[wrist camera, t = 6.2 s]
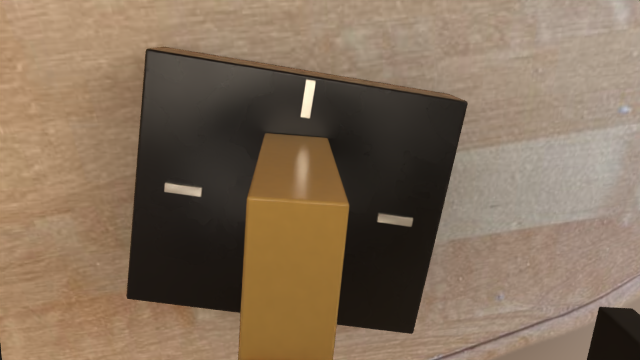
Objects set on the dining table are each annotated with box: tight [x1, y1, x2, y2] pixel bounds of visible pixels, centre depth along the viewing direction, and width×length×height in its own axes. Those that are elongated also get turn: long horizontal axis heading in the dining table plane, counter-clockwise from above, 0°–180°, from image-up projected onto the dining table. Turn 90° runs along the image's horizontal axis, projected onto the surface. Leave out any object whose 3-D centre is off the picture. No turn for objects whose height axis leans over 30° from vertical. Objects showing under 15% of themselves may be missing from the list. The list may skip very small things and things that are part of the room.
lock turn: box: [238, 133, 349, 360], centre depth 17 cm, size 6×2×8 cm, turn 175°
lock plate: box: [127, 47, 467, 334], centre depth 22 cm, size 12×10×3 cm
